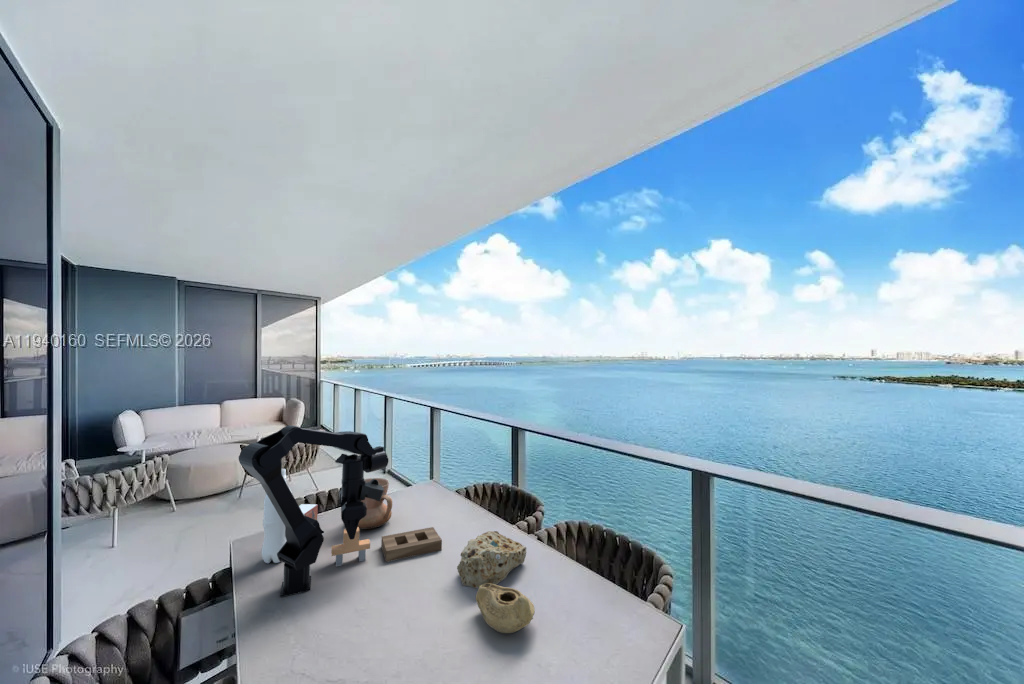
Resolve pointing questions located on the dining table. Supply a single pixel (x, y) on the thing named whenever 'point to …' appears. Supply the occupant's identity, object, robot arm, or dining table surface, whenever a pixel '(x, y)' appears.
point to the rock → (489, 559)
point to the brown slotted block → (410, 544)
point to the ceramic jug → (377, 508)
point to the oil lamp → (504, 608)
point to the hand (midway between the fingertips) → (351, 532)
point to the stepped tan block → (350, 547)
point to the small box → (309, 510)
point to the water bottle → (272, 530)
